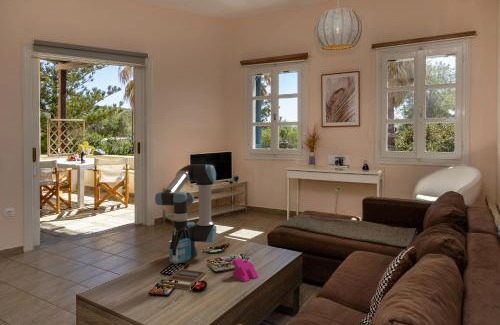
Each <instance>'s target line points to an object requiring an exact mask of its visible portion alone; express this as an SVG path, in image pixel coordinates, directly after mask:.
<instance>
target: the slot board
mask: <svg viewBox="0 0 500 325" xmlns="http://www.w3.org/2000/svg"><path fill="white" fill-rule="evenodd" d="M181 271H183V272H191V273H198V274H200V276H199V277H198V278H193V277H186V276H179V275H178V274H179V273H180V272H181ZM207 276H208V275H207V272H206V271H201V270H200V271H199V270H192V269H185V268H180V269H178V270H176V272H174V273H173V274H171V275H170V276H168V277H167V278H166V279H164V280H163V281H162V284H163V283H164V284H170V285H174V286H175V287H174V288H178V289H181V290H182V289H183V290H188V291H189V290H192V289H191V286H192V285H193V284H194V283H195V282H197V281H200V282H201V281H203V279H204V278H206V277H207ZM169 280H177V281H178V283H174V282H167V281H169Z"/></svg>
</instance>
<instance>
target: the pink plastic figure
mask: <svg viewBox="0 0 500 325" xmlns="http://www.w3.org/2000/svg"><path fill="white" fill-rule="evenodd" d="M232 266H234V271H232V276H233V277H234V278H236V279H239V280H240V281H242V282H244V283H246V282H248V281H249V282H250V278H251V279H252V280H255V279H258V278H259V275H258V272H257V271H256V269H255V267H254V265H253V263H252V262H251V261H248V260H246V259H244V260H243V258H241V257H237V258H233V259H232Z"/></svg>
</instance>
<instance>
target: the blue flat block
mask: <svg viewBox="0 0 500 325" xmlns="http://www.w3.org/2000/svg"><path fill="white" fill-rule="evenodd" d="M170 245H171V241H170V242H169V244H168V247H169V249H168V252H169V262H170V263H172V264H176V265H177V264H180V263H183V262H186V261H188V260H191V259H192V258H191V240H190V239H187V238H182V239H179V243H178V246H177V260H178V261H172V249H170ZM190 258H191V259H190Z"/></svg>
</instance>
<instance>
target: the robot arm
mask: <svg viewBox="0 0 500 325" xmlns="http://www.w3.org/2000/svg"><path fill="white" fill-rule="evenodd" d="M216 180H217V171H216V168H215V166H214V165H213V164H208V163H207V164H196V163H195V164H194V163H191V164H188V165H185V166H182V168H180V169H178V171H177V172H176V174H175V177H174V178H173V180H172V181H171V182H170V183H169V184H168V185H167V186H166V188H165V189H164V191H163V192H162V191H161V192H160V191H159V192H157V193H155V197H154V202H155V204H156V205H157V206H168V207H169V206H173V214H172V215H173V227H174V228H175V230H173V231H172V237H171V241H170V242H171V245H170V249H172V261H178V260H177V246H178V243H179V239H182V238H187V239H190V240H191V258H190V259H189V260H191V259H194V258H196V257H197V256H198V251H197V247H196V243H209V244H211V243H213V242H214V241H215V239H216V235H217V226H216V225H214V221H213V220H212V186H213V185H214V183H215V182H216ZM189 182H196V183H195V184H196V186H197V187H198V221H197V222H196V224H195V222H194V221H188V207H189V206H191V205H192V204H193V203H194V202H195V196H194V194H193V193H191V192H185V191H181V190H182V188H183V187H184V185H185V184H188V183H189Z"/></svg>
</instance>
